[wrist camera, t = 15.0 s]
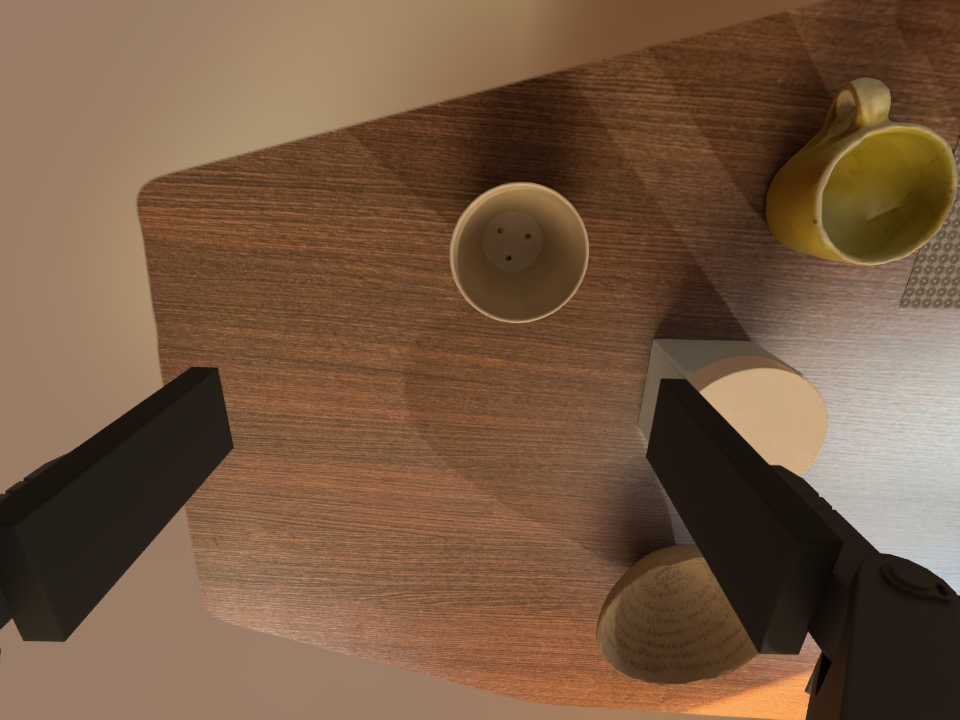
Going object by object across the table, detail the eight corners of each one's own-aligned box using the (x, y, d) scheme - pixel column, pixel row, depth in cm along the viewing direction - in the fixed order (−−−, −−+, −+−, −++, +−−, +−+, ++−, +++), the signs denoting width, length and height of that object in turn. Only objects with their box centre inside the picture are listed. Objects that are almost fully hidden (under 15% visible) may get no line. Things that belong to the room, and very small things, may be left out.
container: (652, 338, 44) (685, 371, 37) (751, 340, 44) (803, 374, 37) (637, 425, 47) (665, 470, 40) (729, 427, 48) (772, 473, 40)
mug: (896, 259, 39) (972, 261, 30) (755, 267, 43) (784, 271, 34) (911, 98, 37) (998, 47, 28) (761, 121, 40) (794, 81, 31)
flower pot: (455, 298, 42) (450, 323, 36) (453, 178, 39) (448, 181, 32) (566, 299, 43) (583, 323, 36) (576, 179, 39) (596, 182, 32)
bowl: (738, 616, 57) (776, 683, 50) (585, 631, 58) (601, 699, 51) (749, 491, 51) (796, 547, 43) (576, 511, 51) (592, 569, 44)
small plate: (671, 353, 36) (684, 365, 34) (827, 357, 36) (849, 369, 34) (646, 483, 41) (656, 501, 39) (785, 486, 41) (802, 504, 39)
